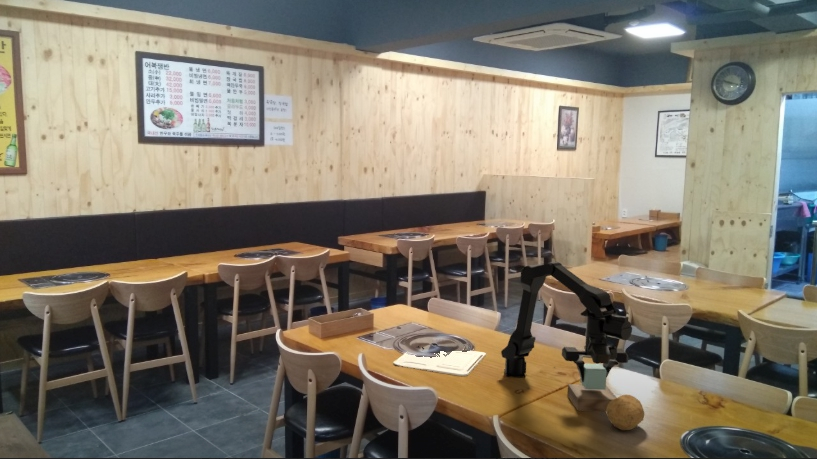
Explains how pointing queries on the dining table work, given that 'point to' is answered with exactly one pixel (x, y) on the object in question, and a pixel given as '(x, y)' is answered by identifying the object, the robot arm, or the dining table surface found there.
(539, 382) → the dining table surface
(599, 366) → the teal cube
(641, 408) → the potato
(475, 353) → the tray
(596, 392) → the walnut block
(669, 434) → the dining table surface
